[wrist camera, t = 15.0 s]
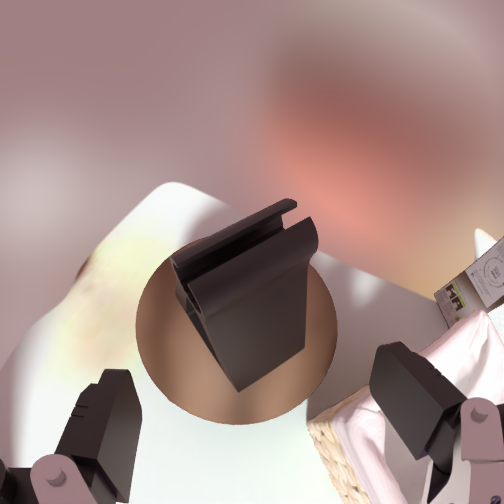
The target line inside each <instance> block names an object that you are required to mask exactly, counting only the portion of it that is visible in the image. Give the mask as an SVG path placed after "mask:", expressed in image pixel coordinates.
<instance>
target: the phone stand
mask: <svg viewBox="0 0 504 504" xmlns="http://www.w3.org/2000/svg"><path fill="white" fill-rule="evenodd" d="M296 207H297V202H296V201H294V200H292V199H283V200H281V201H279V202H277V203H275V204H273V205H271V206H269V207H267V208H265V209H263V210H261V211H259V212H257V213H255V214H253V215H251V216H249V217H247V218H245V219H243V220H241V221H239V222H237V223H235V224H233V225H231V226H229V227H227V228H225V229H223V230H221V231H219V232H217V233H215V234H213V235H211V236H209V237H207V238H205V239H204V240H202V241H200V242H198V243H196V244H194V245H192V246H190V247H188V248H186V249H184V250H182V251H181V252H179V253H177V254H175V255H173V256H171V257H170V261H171V264H172V267H173V269H174V272H175V275H176V278H177V282H176V290H175V295H176V297H177V299H178V301H179V302H180V304H181V306H182V307H183V309H184V311H185V312H186V314H187V316H188V317H189V319H190V321H191V322H192V324H193V325H194V327H195V329H196V330H197V332H198V333H199V335H200V337H201V338H202V340H203V341H204V343H205V344H206V346H207V348H208V349H209V351H210V352H211V354H212V355H213V357H214V358H215V360H216V361H217V363H218V364H219V366H220V367H221V369H222V370H223V372H224V373H225V375H226V376H227V378H228V379H229V381H230V382H231V384H232V385H233V386H234V388H235V389H236V391H237V392H238V393H239V392H240V391H242V390H244V389H245V388H247V387H248V386H250V385H251V384H253V383H255V382H256V381H258V380H259V379H261V378H262V377H264V376H265V375H267V374H268V373H270V372H271V371H273V370H274V369H276V368H277V367H279V366H280V365H282V364H283V363H284V362H286V361H287V360H289V359H290V358H292V357H293V356H294V355H296V354H297V353H299V352H300V351H301V350H303V349H304V348H305V333H306V309H307V274H308V264H309V261H310V258H311V257H312V255H313V254H314V253H315V252H316V251H317V248H318V235H317V231H316V228H315V225H314V223H313V221H312V219H311V217H308V218H306V219H304V220H302V221H300V222H299V223H297V224H295V225H293V226H291V227H290V228H288V229H286V230H285V229H284V228H283V222H282V217H281V215H282V214H284V213H286V212H288V211H290V210H292V209H294V208H296Z"/></svg>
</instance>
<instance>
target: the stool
mask: <svg viewBox="0 0 504 504" xmlns="http://www.w3.org/2000/svg"><path fill="white" fill-rule="evenodd" d="M205 238H207V237H205ZM205 238H202V239H199V240H196V241H194V242H192V243H190V244H188V245H186V246H184V247H182V248H181V249H179V250H177V251H176V252H174V253H173V254H172V255H171V256H173V255H175V254H177V253H179V252H181V251H182V250H184V249H186V248H188V247H190V246H192V245H194V244H196V243H198V242H200V241H202V240H204V239H205ZM171 256H170V257H171ZM170 257H168V258H167V259H166V260H165V261H164V262H163V263H162V264H161V265H160V266H159V267H158V268H157V269H156V271H155V272H154V273H153V275H152V276H151V278H150V279H149V281H148V283H147V285H146V286H145V288H144V291H143V293H142V296H141V298H140V301H139V305H138V310H137V316H136V340H137V345H138V350H139V353H140V356H141V359H142V362H143V365H144V367H145V369H146V371H147V373H148V375H149V376H150V378H151V379H152V381H153V382H154V383H155V385H156V386H157V387H158V388H159V390H160V391H161V392H162V393H163V394H164V395H165V396H166V397H167V398H168V400H169V401H171V402H172V403H174V404H176V405H177V406H178V407H180V408H182V409H183V410H185V411H187V412H188V413H190V414H192V415H195V416H197V417H200V418H202V419H205V420H209V421H212V422H216V423H222V424H231V425H244V424H253V423H259V422H264V421H267V420H270V419H273V418H276V417H278V416H281V415H283V414H285V413H287V412H289V411H290V410H292V409H293V408H295V407H296V406H298V405H299V404H301V403H302V402H303V401H304V400H305V399H307V398H308V397H309V396H310V395H311V394H312V393H313V392H314V390H315V389H316V388H317V387H318V386H319V384H320V383H321V381H322V380H323V378H324V377H325V375H326V373H327V371H328V369H329V367H330V365H331V362H332V359H333V356H334V352H335V349H336V342H337V318H336V311H335V308H334V304H333V300H332V298H331V296H330V293H329V291H328V289H327V287H326V285H325V283H324V282H323V280H322V278H321V277H320V276H319V274H318V273H317V272H316V270H315V269H314V268H313V267H312V266H311V265H310V264H308V274H307V309H306V333H305V348H304V349H303V350H301V351H300V352H299V353H297V354H296V355H294V356H293V357H292V358H290V359H289V360H287V361H286V362H284V363H283V364H282V365H280V366H279V367H277V368H276V369H274V370H273V371H271V372H270V373H268V374H267V375H265V376H264V377H262V378H261V379H259V380H258V381H256V382H255V383H253V384H251V385H250V386H248V387H247V388H245V389H244V390H242V391H240V392H239V393H238V392H237V391H236V389H235V388H234V386H233V385H232V384H231V382H230V381H229V379H228V378H227V376H226V375H225V373H224V372H223V370H222V369H221V367H220V366H219V364H218V363H217V361H216V360H215V358H214V357H213V355H212V354H211V352H210V351H209V349H208V348H207V346H206V344H205V343H204V341H203V340H202V338H201V337H200V335H199V333H198V332H197V330H196V329H195V327H194V325H193V324H192V322H191V321H190V319H189V317H188V316H187V314H186V312H185V311H184V309H183V307H182V306H181V304H180V302H179V301H178V299H177V297H176V295H175V290H176V282H177V278H176V275H175V272H174V269H173V267H172V264H171V261H170Z"/></svg>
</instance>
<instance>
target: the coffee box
mask: <svg viewBox="0 0 504 504" xmlns="http://www.w3.org/2000/svg"><path fill="white" fill-rule="evenodd" d="M434 297H435V298H436V301H437V303H438V305H439V307H440V309H441V311H442V313H443V315H444V317H445V319H446V321H447V324H448V326H449V328H451V327H452V326H453V325H454V324H455V323H456V322H458V321H459V320H461V319H463V318H466V317H468V316H469V315H471V314H472V313H473V312H475V311H476V310H480V309H481V310H484V311H485V312H486V313H489V312H490V311H492V310H494V309H495V308H497V307H499V306H500V305H502V304H504V237H503V238H502V239H500V240H499V241H498V242H497V243H496V244H495V245H494V246H493V247H492V248H490V249H489V250H488V251H487V252H486V253H485V254H483V255H482V256H481V257H480V258H479V259H478V260H476V261H475V262H474V263H473V264H472V265H470V266H469V267H468V268H467V269H466V270H464V271H463V272H462V273H460V274H459V275H458V276H457V277H455V278H454V279H453V280H452V281H450V282H449V283H448V284H446V285H445V286H444V287H442V288H441V289H440V290H438V291H437V292H436V293H434Z"/></svg>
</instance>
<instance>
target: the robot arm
mask: <svg viewBox="0 0 504 504" xmlns="http://www.w3.org/2000/svg"><path fill="white" fill-rule="evenodd" d="M369 388H370V393H371V395H372V397H373V399H374V400H375V402H376V403H377V404H378V406H379V407H380V409H381V410H382V412H383V413H384V415H385V416H386V417H387V419H388V420H389V422H390V423H391V425H392V426H393V428H394V429H395V430H396V432H397V433H398V435H399V436H400V438H401V439H402V441H403V442H404V444H405V445H406V446H407V448H408V449H409V451H410V452H411V454H412V455H413V457H414V458H415V460H416V461H417V460H419V459H421V458H423V457H425V456H427V455H429V456H430V457H431V460H430V462H429V464H428V470H427V476H426V482H425V487H424V492H423V497H422V502H421V504H504V403H503V404H499V405H495V404H494V403H493V402H491V401H490V400H488V399H485V398H481V397H473V398H469V399H468V398H467V397H466V396H465V395H464V394H463V393H462V392H461V391H460V390H459V389H458V388H456V387H455V386H454V385H453V384H452V383H451V382H450V381H449V380H448V379H447V378H446V377H445V376H444V375H442V373H441V372H440V371H439V370H438V369H437V368H435V366H434V365H433V364H432V363H430V362H429V361H428V360H427V359H426V358H425V357H423V356H421V355H419V354H417V353H415V352H411V351H410V350H409V349H408V348H407V347H406V346H405V345H404V344H403V343H402V342H399V341H398V342H394V343H390V344H385V345H381V346H379V347H378V349H377V351H376V355H375V360H374V364H373V369H372V373H371V377H370V381H369ZM75 406H76V407H74V409H73V411H72V413H71V417H70V418H69V420H68V422H67V425H66V427H65V429H64V432H63V434H62V436H61V439H60V441H59V444H58V446H57V448H56V451H55V453H54V454H50V455H46V456H44V457H42V458H40V459H39V460H37V461H36V462H35V463H34V465H33V467H32V468H8V467H7V466H6V465H5V464H4V463H3V461H2V460H1V459H0V504H116V502H121V503H129V496H130V488H131V482H132V475H133V469H134V463H135V457H136V451H137V445H138V440H139V435H140V429H141V424H142V409H141V405H140V401H139V398H138V395H137V392H136V389H135V386H134V383H133V379H132V376H131V373H130V371H129V370H127V369H105V370H104V371H103V373H102V375H101V378H100V380H99V382H98V384H92V383H91V384H90V385H89V386H88V387H87V388H86V389H85V390H84V391H83V392H81V394H80V396H79V398H78V400H77V402H76V404H75Z"/></svg>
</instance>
